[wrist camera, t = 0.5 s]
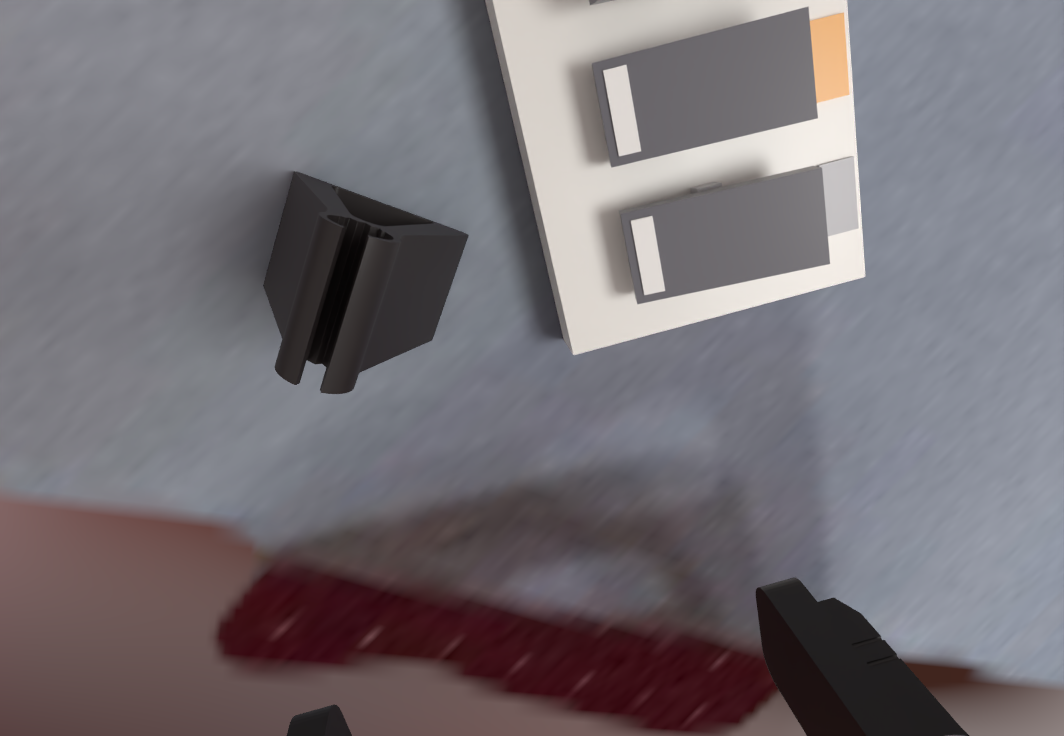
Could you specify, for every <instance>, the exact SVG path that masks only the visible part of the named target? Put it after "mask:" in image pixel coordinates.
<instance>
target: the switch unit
mask: <svg viewBox="0 0 1064 736" xmlns="http://www.w3.org/2000/svg"><path fill="white" fill-rule="evenodd" d="M485 2H486V7H487V11H488V15H489V20H490V24H491V28H492V32H493V37H494V41H495V45H496V50H497V54H498V58H499V63H500V67H501V71H502V76H503V80H504V84H505V89H506V93H507V97H508V102H509V106H510V110H511V115H512V119H513V123H514V127H515V132H516V136H517V140H518V145H519V149H520V153H521V158H522V162H523V166H524V171H525V175H526V179H527V184H528V188H529V192H530V197H531V201H532V205H533V210H534V214H535V218H536V222H537V227H538V231H539V235H540V240H541V244H542V248H543V253H544V257H545V261H546V266H547V270H548V274H549V279H550V283H551V287H552V292H553V296H554V300H555V305H556V309H557V313H558V317H559V322H560V326H561V330H562V335H563V339H564V341H565V342H566V344H567V346H568V347H569V349H570V350H571V352H572V354H573V355H576V354H580V353H584V352H587V351H591V350H595V349H599V348H602V347H606V346H610V345H613V344H617V343H621V342H625V341H628V340H632V339H636V338H639V337H643V336H647V335H651V334H654V333H658V332H662V331H665V330H669V329H673V328H677V327H680V326H684V325H688V324H692V323H695V322H699V321H703V320H706V319H710V318H714V317H718V316H721V315H725V314H729V313H732V312H736V311H740V310H744V309H747V308H751V307H755V306H758V305H762V304H766V303H770V302H773V301H777V300H781V299H784V298H788V297H792V296H796V295H799V294H803V293H807V292H810V291H814V290H818V289H822V288H825V287H829V286H833V285H836V284H840V283H844V282H848V281H851V280H855V279H859V278H862V277H865V265H864V250H863V235H862V220H861V205H860V190H859V175H858V160H857V145H856V130H855V115H854V99H853V84H852V69H851V54H850V39H849V24H848V9H847V0H614V1H609V2H604V3H600V4H595V5H590V3H589V0H485ZM808 6H809V18H810V30H811V41H812V53H813V65H814V77H815V89H816V101H817V113H818V118H817V119H813V120H809V121H804V122H800V123H796V124H792V125H788V126H784V127H779V128H775V129H771V130H767V131H763V132H758V133H754V134H750V135H746V136H742V137H738V138H733V139H729V140H725V141H721V142H717V143H713V144H708V145H704V146H700V147H696V148H692V149H687V150H683V151H679V152H675V153H671V154H667V155H662V156H658V157H654V158H650V159H646V160H642V161H637V162H633V163H629V164H625V165H621V166H616V167H611V166H610V161H609V156H608V150H607V145H606V140H605V135H604V129H603V124H602V119H601V113H600V108H599V103H598V97H597V92H596V87H595V81H594V76H593V71H592V66H591V65H592V63H595V62H599V61H602V60H606V59H610V58H614V57H618V56H621V55H625V54H629V53H633V52H637V51H640V50H644V49H648V48H652V47H656V46H660V45H663V44H667V43H671V42H675V41H679V40H682V39H686V38H690V37H694V36H698V35H701V34H705V33H709V32H713V31H717V30H721V29H724V28H728V27H732V26H736V25H740V24H743V23H747V22H751V21H755V20H759V19H763V18H766V17H770V16H774V15H778V14H782V13H785V12H789V11H793V10H797V9H801V8H804V7H808ZM810 166H817V167H821V168H822V172H823V184H824V196H825V208H826V220H827V232H828V244H829V256H830V264H828V265H823V266H818V267H813V268H809V269H804V270H799V271H794V272H790V273H785V274H780V275H775V276H770V277H766V278H761V279H756V280H751V281H747V282H742V283H737V284H732V285H728V286H723V287H718V288H713V289H709V290H704V291H699V292H694V293H689V294H685V295H680V296H675V297H670V298H666V299H661V300H656V301H651V302H647V303H642V304H637V302H636V299H635V294H634V288H633V283H632V278H631V272H630V267H629V262H628V256H627V251H626V246H625V241H624V235H623V230H622V225H621V219H620V214H619V210H623V209H627V208H632V207H636V206H640V205H645V204H649V203H653V202H658V201H662V200H666V199H671V198H675V197H679V196H684V195H688V194H692V193H697V192H701V191H705V190H710V189H714V188H718V187H723V186H727V185H731V184H736V183H740V182H744V181H749V180H753V179H757V178H762V177H766V176H771V175H775V174H779V173H784V172H788V171H792V170H797V169H801V168H805V167H810Z"/></svg>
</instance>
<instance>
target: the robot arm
mask: <svg viewBox="0 0 1064 736" xmlns="http://www.w3.org/2000/svg"><path fill="white" fill-rule="evenodd" d="M756 601H757V610H758V618H759V626H760V634H761V642H762V649H763V654H764V658H765V661H766V664H767V667H768V669H769V672H770V674H771V676H772V678H773V680H774V682H775V684H776V686H777V687H778V689H779V691H780V692H781V694H782V696H783V697H784V699H785V700H786V702H787V704H788V705H789V707H790V709H791V710H792V712H793V714H794V715H795V717H796V719H797V720H798V722H799V723H800V725H801V727H802V728H803V730H804V732H805V733H806V735H807V736H969V735H968V734H967V733H966V732H965V731H964V730H963V729H962V728H961V727H960V726H959V725H958V724H957V723H956V721H955V720H954V719H953V718H952V717H951V716H950V714H949V713H948V712H947V711H946V710H945V709H944V708H943V707H942V705H941V704H940V703H939V702H938V701H937V700H936V698H934V696H933V695H932V694H931V693H930V692H929V690H928V689H927V688H926V687H925V686H924V685H923V684H922V683H921V681H920V680H919V679H918V678H917V677H916V676H915V675H914V673H913V672H912V671H911V670H910V669H909V668H908V667H907V665H906V664H905V663H904V662H903V661H902V660H901V659H898V657H897V654H896V653H895V652H894V651H893V649H892V648H891V647H890V646H889V645H888V644H887V643H886V641H885V640H882V639H881V636H880V635H879V633H878V632H877V631H876V630H875V629H874V628H873V627H872V626H871V624H870V623H869V622H868V621H867V620H866V619H865V618H864V616H863V615H862V614H861V613H859V612H857V611H856V610H854V609H852V608H851V607H849V606H847V605H845V604H844V603H842V602H840V601H839V600H837V599H835V598H831V599H827V600H823V601H820V602H817V601H816V600H815V598H814V597H813V596H812V595H811V593H810V592H809V591H808V590H807V589H806V587H805V586H804V585H803V584H802V582H801V581H800V580H798V579H797V578H790V579H787V580H783V581H780V582H776V583H773V584H769V585H765V586H762V587H758V588H757V589H756ZM287 736H352V735H351V732H350V730H349V728H348V726H347V724H346V721H345V719H344V717H343V714H342V712H341V710H340V708H339V707H338V706H337V705H331V706H328V707H324V708H321V709H317V710H313V711H310V712H306V713H303V714H299V715H296V716H294V717H293V718H292V720H291V722H290V725H289V729H288V733H287Z"/></svg>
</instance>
